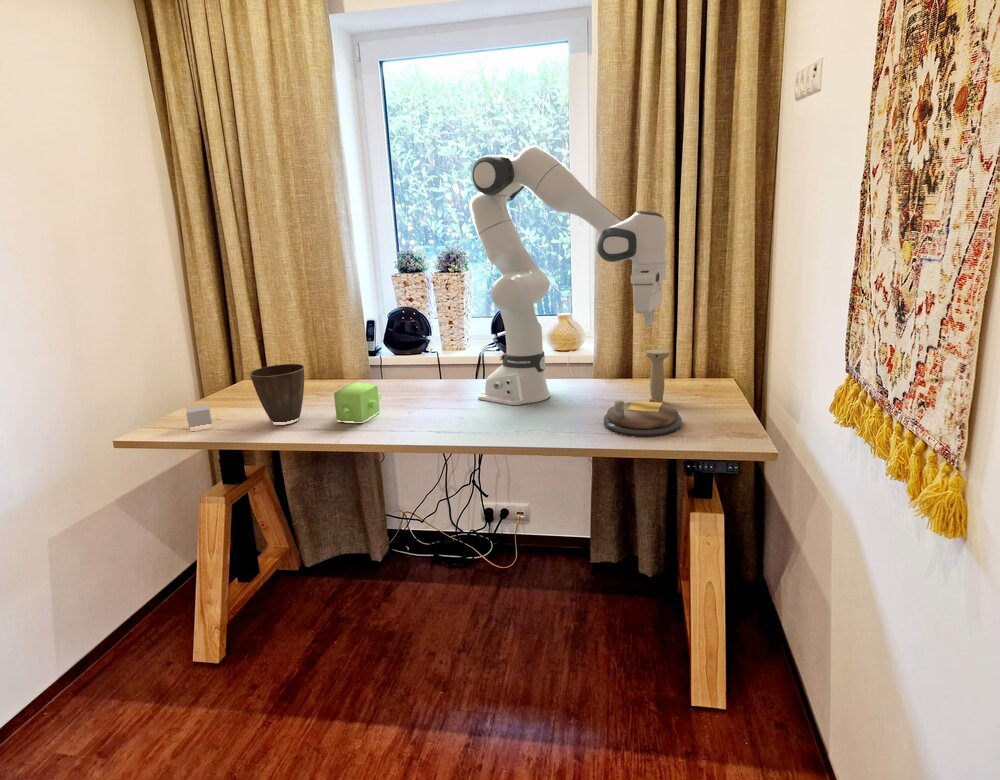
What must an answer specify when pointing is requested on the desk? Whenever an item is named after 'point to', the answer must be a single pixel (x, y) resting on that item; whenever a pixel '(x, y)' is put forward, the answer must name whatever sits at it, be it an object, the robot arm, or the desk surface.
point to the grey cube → (199, 415)
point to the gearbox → (356, 402)
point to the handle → (657, 373)
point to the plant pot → (280, 390)
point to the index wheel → (642, 415)
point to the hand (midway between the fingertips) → (648, 324)
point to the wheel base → (643, 432)
